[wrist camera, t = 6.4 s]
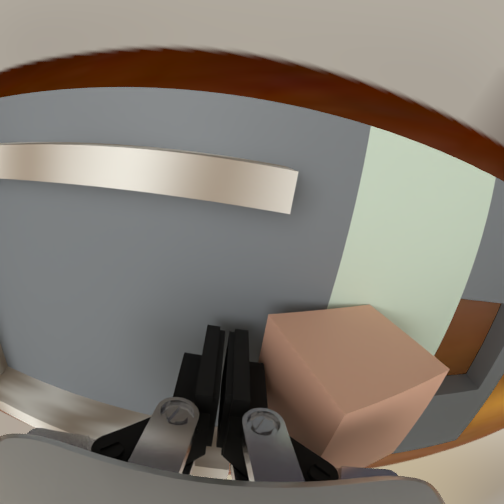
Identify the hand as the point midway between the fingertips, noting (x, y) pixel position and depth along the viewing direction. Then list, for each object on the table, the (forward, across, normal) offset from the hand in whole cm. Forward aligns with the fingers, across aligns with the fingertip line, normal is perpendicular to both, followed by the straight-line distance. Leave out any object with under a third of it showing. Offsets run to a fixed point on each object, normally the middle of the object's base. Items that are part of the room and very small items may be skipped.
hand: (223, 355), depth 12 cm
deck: (+3, -2, 0) cm, 4 cm away
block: (0, -4, 0) cm, 4 cm away
